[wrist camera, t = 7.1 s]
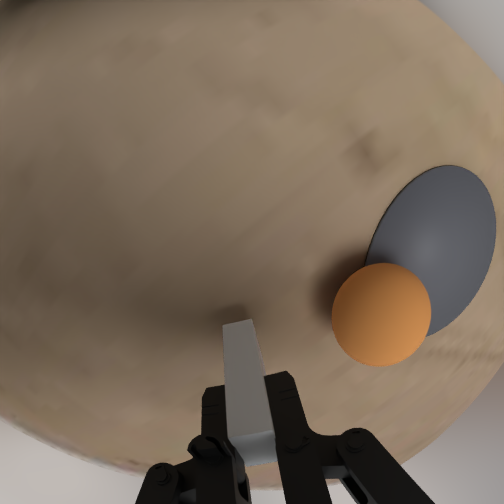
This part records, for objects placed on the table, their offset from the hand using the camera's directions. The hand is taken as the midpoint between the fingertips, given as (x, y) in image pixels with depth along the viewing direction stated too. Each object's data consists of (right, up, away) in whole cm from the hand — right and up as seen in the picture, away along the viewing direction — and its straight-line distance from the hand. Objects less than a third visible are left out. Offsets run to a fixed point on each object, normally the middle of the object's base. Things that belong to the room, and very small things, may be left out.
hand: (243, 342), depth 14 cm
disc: (+13, +4, +2) cm, 14 cm away
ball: (+7, +1, -1) cm, 7 cm away
